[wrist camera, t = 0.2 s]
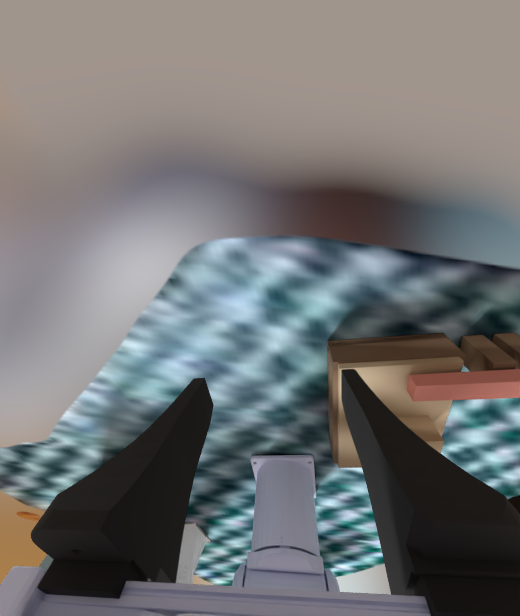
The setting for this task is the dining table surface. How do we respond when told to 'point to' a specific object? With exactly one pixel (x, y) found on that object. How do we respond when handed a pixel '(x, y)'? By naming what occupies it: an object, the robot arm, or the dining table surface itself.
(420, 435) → the lid
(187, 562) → the skyscraper
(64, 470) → the dining table surface
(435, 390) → the pink bar
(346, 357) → the toolbox
